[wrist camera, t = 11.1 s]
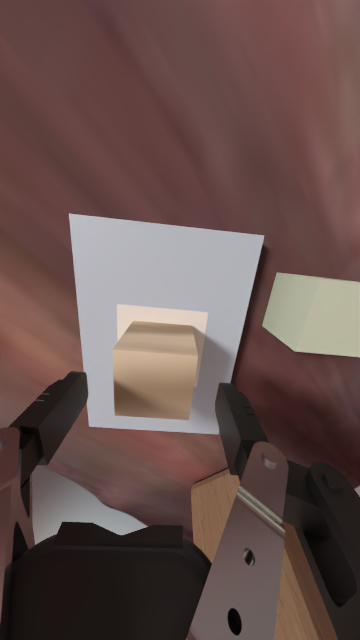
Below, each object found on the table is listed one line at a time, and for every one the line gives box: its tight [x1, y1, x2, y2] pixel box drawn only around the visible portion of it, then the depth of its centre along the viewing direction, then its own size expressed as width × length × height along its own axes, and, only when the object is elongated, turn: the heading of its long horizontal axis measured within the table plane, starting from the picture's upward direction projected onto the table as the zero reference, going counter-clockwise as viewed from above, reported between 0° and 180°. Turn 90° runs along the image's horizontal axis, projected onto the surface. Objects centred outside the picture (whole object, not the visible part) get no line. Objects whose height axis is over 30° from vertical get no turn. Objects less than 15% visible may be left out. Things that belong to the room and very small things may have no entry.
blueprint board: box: [69, 214, 264, 434], centre depth 16 cm, size 20×14×2 cm
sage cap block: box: [262, 273, 360, 357], centre depth 14 cm, size 5×5×5 cm
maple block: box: [112, 321, 198, 420], centre depth 13 cm, size 5×5×5 cm
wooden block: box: [191, 468, 338, 640], centre depth 15 cm, size 10×10×20 cm
